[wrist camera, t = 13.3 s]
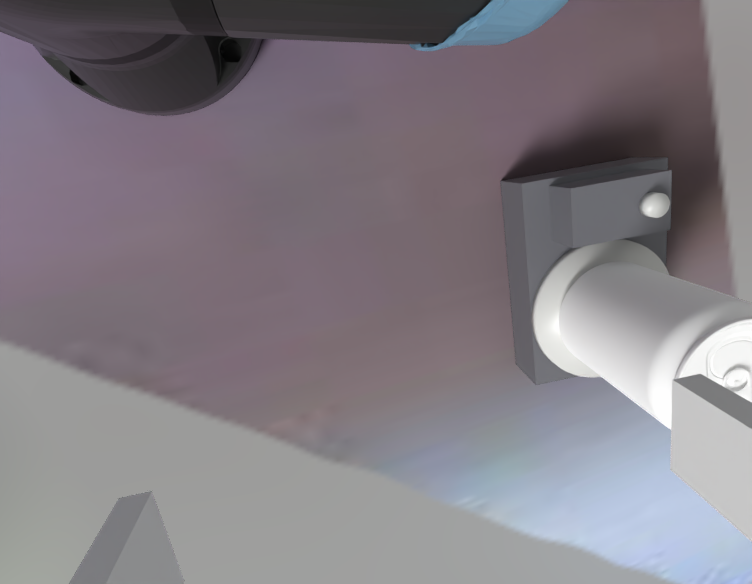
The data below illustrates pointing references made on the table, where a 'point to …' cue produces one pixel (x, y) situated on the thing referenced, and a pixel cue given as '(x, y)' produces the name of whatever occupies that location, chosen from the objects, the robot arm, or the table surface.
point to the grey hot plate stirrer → (576, 246)
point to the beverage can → (656, 333)
